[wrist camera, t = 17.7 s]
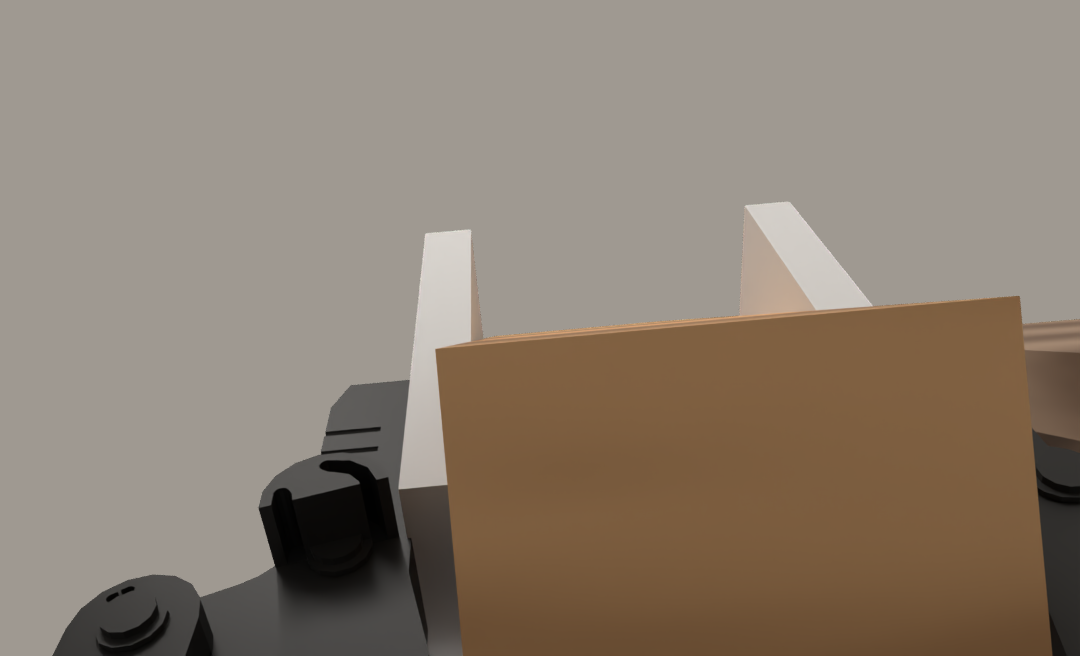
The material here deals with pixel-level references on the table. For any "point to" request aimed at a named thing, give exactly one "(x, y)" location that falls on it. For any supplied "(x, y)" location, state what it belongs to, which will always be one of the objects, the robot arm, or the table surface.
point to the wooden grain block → (749, 486)
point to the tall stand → (1054, 381)
